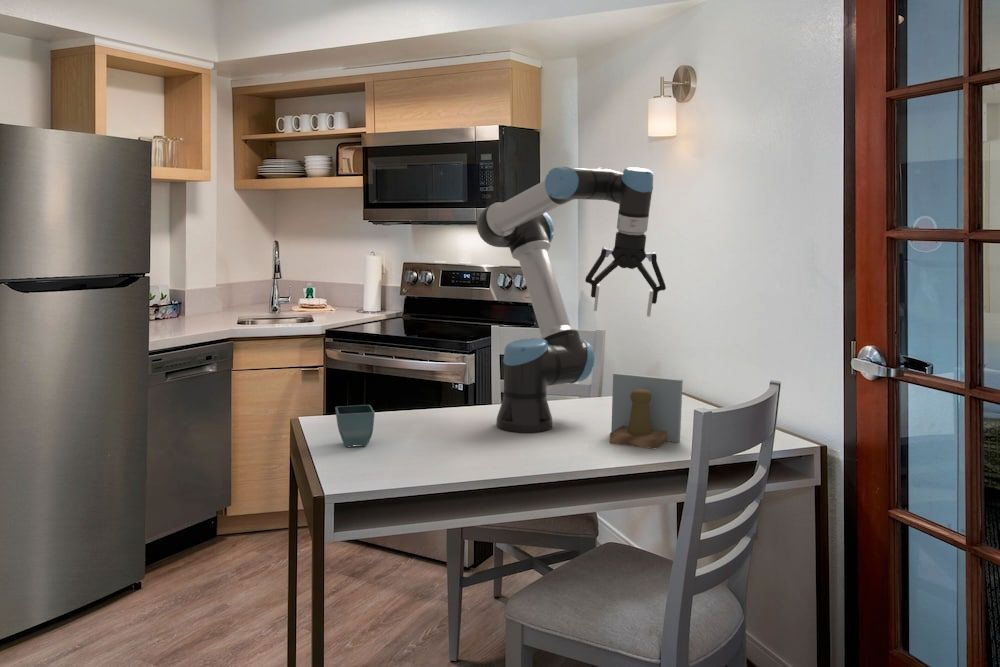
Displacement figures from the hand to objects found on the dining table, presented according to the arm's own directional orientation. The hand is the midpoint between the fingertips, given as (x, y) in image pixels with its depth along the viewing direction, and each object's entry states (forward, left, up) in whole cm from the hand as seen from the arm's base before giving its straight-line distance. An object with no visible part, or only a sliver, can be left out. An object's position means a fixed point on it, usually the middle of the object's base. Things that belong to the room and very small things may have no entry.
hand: (621, 312), depth 219 cm
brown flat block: (+4, -8, -32) cm, 33 cm away
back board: (+7, -3, -32) cm, 33 cm away
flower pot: (-67, -12, -32) cm, 75 cm away
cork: (+4, -8, -30) cm, 31 cm away
